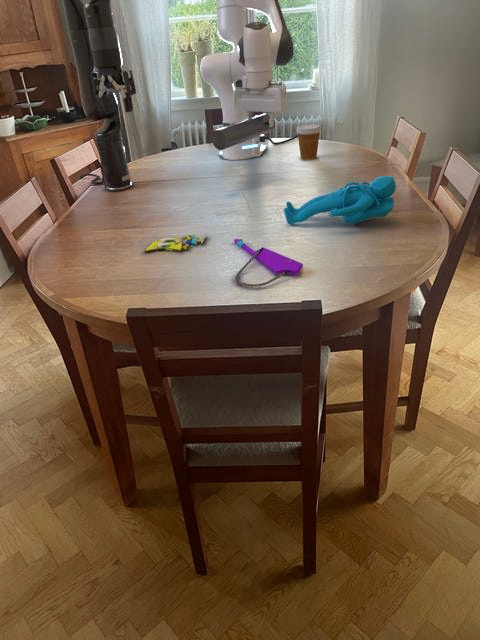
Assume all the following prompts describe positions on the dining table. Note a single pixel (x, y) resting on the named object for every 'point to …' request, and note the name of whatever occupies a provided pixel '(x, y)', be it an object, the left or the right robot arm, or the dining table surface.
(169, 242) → the toy
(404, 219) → the dining table surface
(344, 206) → the toy
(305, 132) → the cup of beer
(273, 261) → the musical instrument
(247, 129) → the rod
